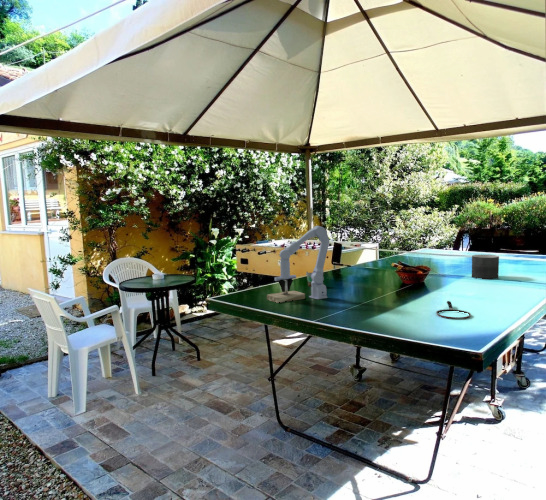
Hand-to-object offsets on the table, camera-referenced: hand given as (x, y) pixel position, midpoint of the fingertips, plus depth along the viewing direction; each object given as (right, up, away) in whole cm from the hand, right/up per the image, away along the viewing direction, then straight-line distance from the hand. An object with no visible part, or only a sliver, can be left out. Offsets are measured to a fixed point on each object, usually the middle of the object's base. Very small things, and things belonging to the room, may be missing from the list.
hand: (285, 291), depth 271 cm
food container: (+20, 0, +37) cm, 42 cm away
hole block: (0, -5, +1) cm, 5 cm away
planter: (+147, +5, +53) cm, 157 cm away
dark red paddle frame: (+85, -8, -42) cm, 95 cm away
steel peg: (0, -3, +1) cm, 3 cm away
